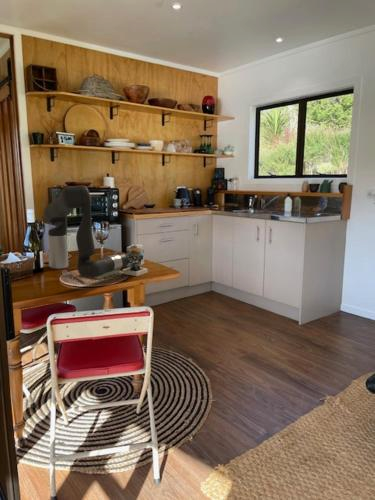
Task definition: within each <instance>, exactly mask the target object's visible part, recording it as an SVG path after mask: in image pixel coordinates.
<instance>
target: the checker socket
mask: <svg viewBox="0 0 375 500" xmlns="http://www.w3.org/2000/svg"><path fill="white" fill-rule="evenodd" d="M148 270H149V269H148V268H145V267H141V266H140V271H137V272H136V271H130V267H126V268H123V269H122V274H123V273H124V274H123V275H128V276H133V277H138V276H141V275H145V274H147V273H149V272H148Z"/></svg>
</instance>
